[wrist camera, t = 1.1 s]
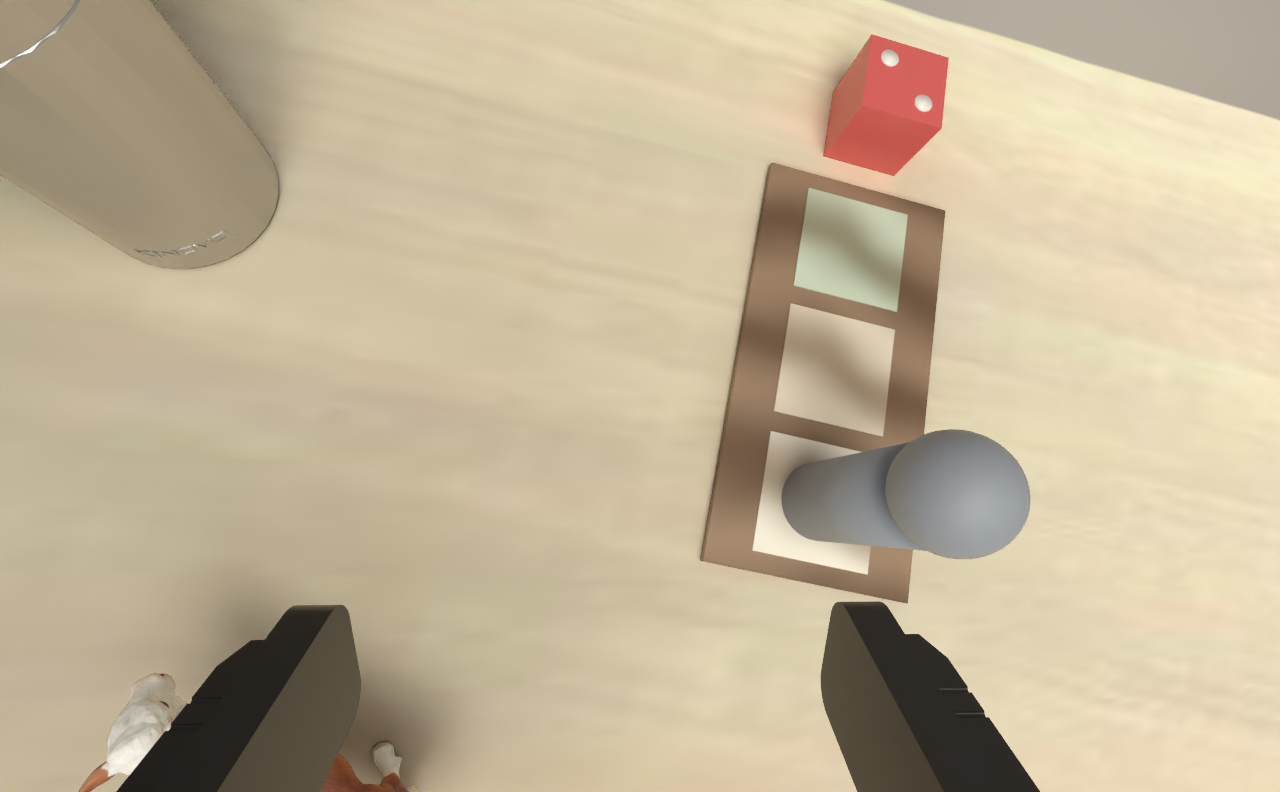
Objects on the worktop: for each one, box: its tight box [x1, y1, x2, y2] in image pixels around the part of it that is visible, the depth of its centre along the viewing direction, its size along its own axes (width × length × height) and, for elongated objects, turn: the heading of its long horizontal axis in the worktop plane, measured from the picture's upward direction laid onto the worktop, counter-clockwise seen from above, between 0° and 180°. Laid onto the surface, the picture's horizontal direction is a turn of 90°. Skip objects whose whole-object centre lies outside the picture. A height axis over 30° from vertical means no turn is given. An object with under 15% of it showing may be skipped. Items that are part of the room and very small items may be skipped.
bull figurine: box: [79, 673, 419, 792], centre depth 25 cm, size 4×13×8 cm, turn 57°
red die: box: [824, 35, 948, 176], centre depth 38 cm, size 5×5×5 cm
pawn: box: [781, 430, 1030, 559], centre depth 27 cm, size 5×5×14 cm
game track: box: [701, 163, 945, 603], centre depth 36 cm, size 25×12×1 cm, turn 168°
